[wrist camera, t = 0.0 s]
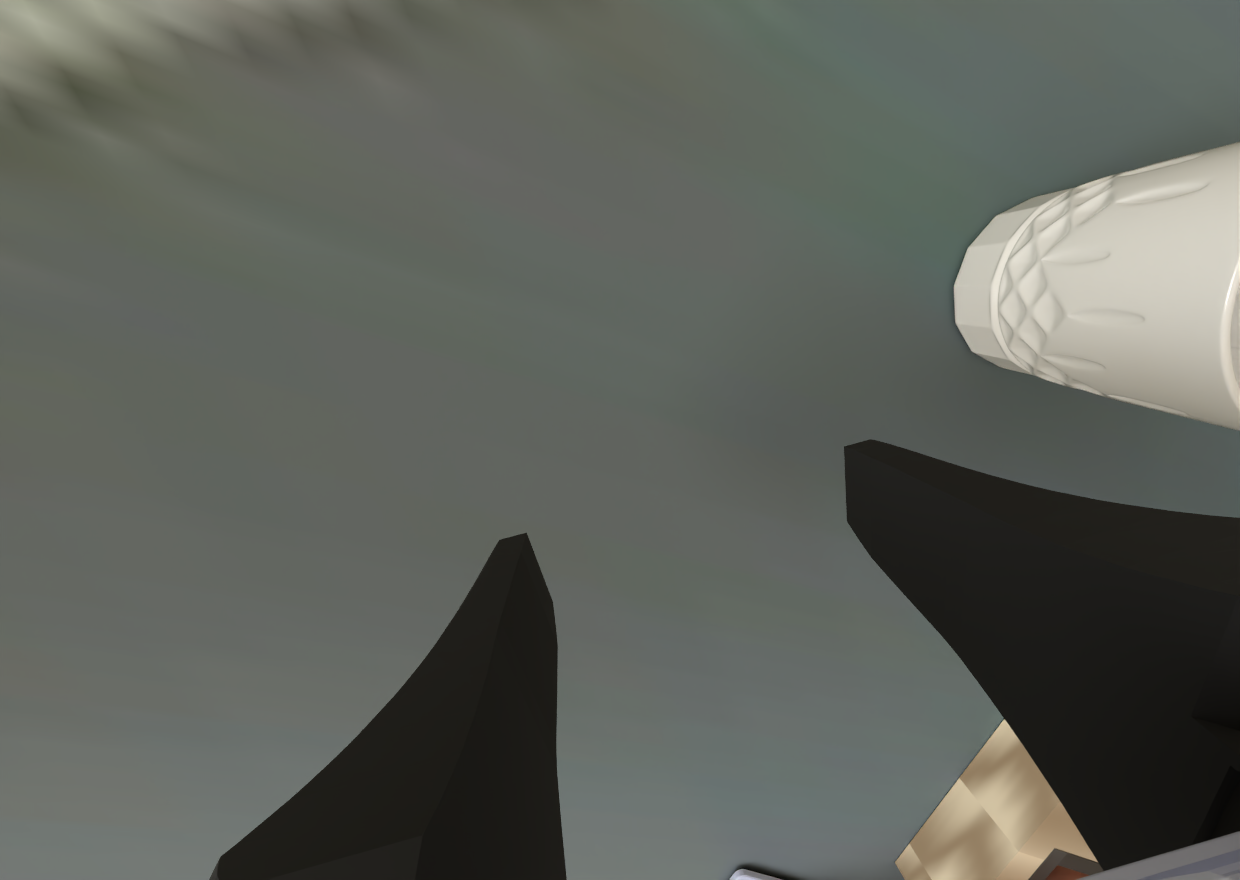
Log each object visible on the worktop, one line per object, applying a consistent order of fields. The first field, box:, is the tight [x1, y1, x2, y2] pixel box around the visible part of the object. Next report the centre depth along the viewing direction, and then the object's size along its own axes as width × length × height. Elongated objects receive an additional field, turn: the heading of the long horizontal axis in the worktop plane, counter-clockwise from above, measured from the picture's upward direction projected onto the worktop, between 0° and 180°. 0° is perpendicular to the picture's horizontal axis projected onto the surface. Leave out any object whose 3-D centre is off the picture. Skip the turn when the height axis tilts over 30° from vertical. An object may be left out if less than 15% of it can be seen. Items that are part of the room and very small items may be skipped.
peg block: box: [895, 719, 1103, 880], centre depth 28 cm, size 18×10×4 cm, turn 154°
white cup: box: [954, 142, 1240, 431], centre depth 17 cm, size 8×8×10 cm
